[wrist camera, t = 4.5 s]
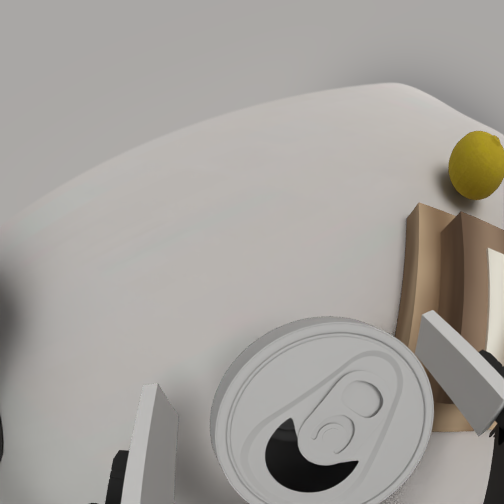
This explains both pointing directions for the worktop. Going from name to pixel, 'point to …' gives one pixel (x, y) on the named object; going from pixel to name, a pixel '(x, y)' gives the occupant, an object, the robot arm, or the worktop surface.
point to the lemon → (477, 165)
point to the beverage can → (322, 415)
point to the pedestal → (453, 290)
